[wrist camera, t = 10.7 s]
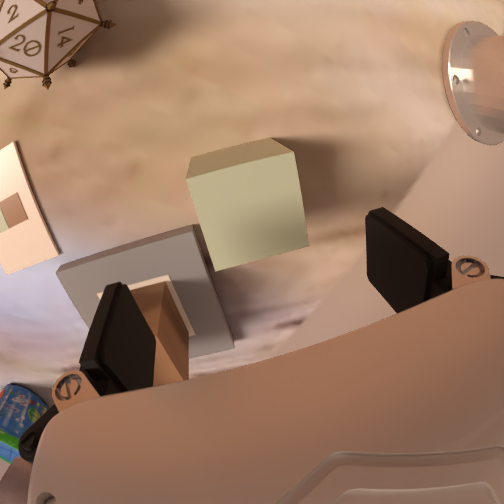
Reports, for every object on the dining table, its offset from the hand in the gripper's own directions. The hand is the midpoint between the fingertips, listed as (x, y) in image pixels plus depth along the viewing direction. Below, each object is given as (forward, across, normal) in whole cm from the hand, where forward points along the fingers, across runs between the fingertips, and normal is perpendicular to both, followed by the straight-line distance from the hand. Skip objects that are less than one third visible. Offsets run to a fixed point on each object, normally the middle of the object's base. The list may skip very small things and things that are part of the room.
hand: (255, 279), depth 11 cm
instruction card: (+12, +18, -4) cm, 22 cm away
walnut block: (+10, +9, +8) cm, 16 cm away
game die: (+12, +8, -15) cm, 21 cm away
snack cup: (+13, +35, +19) cm, 42 cm away
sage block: (+12, -1, 0) cm, 12 cm away
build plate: (+12, +9, +8) cm, 17 cm away
